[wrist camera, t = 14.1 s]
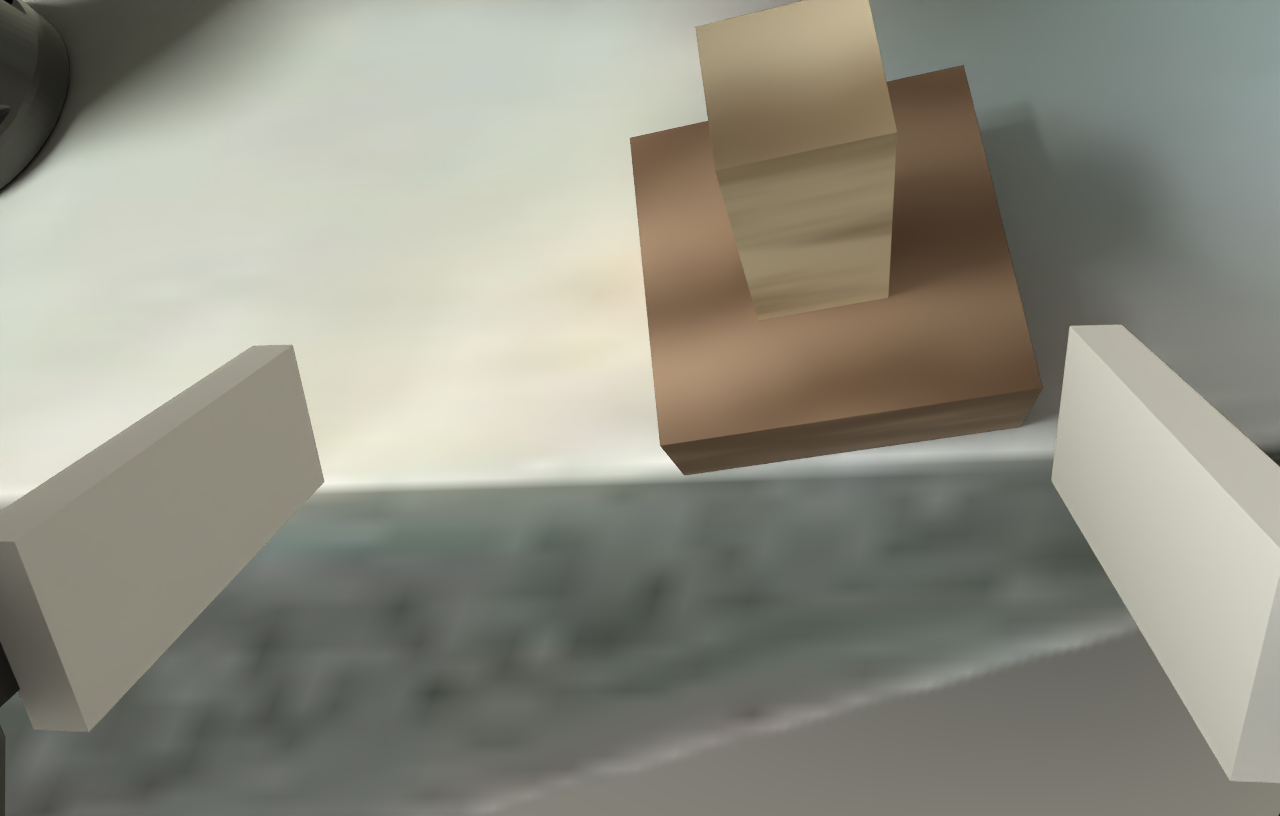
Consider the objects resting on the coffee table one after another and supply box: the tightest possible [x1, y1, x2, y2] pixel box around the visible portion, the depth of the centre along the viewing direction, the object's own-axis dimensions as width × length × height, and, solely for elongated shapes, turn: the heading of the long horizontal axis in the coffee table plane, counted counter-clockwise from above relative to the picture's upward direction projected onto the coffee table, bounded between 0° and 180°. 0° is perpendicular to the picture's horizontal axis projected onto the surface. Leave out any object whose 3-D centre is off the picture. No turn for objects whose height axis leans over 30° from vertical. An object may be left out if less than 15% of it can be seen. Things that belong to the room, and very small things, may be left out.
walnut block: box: [630, 65, 1042, 475], centre depth 39 cm, size 14×14×5 cm
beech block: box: [695, 0, 897, 321], centre depth 31 cm, size 5×5×11 cm
